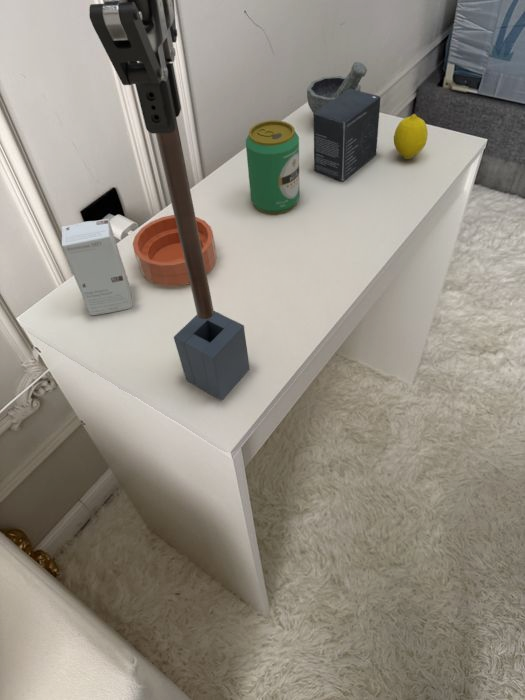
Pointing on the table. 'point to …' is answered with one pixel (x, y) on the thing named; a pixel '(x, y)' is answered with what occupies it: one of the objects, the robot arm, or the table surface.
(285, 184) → the beverage can
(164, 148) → the stick
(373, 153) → the box
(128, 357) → the table surface
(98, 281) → the cosmetic box
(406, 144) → the fruit
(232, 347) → the holder
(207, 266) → the bowl
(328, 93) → the mortar and pestle
